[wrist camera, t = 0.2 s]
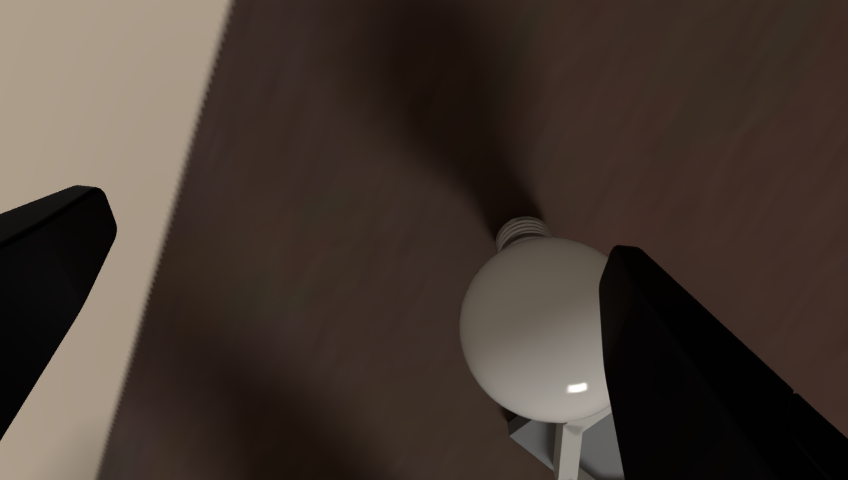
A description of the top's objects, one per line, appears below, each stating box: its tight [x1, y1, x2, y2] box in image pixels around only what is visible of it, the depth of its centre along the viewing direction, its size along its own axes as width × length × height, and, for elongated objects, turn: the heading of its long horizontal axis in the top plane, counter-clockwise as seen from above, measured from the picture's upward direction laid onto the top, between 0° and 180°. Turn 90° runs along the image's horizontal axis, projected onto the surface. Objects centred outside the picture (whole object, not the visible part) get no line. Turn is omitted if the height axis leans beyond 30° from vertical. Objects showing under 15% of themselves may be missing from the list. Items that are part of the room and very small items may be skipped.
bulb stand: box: [508, 406, 625, 480], centre depth 29 cm, size 11×11×2 cm
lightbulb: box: [459, 216, 611, 423], centre depth 21 cm, size 6×6×11 cm
